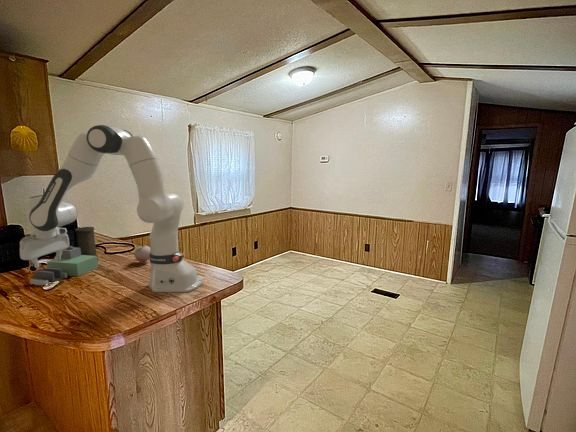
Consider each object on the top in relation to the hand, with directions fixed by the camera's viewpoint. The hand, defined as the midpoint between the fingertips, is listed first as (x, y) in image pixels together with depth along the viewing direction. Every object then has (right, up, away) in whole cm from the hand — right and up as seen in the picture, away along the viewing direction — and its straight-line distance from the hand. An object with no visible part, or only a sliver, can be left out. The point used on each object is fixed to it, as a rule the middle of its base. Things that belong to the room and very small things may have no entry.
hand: (48, 263), depth 136 cm
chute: (-1, -8, +1) cm, 8 cm away
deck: (+1, -6, +8) cm, 10 cm away
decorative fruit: (+29, -4, +27) cm, 40 cm away
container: (0, -3, +27) cm, 28 cm away
